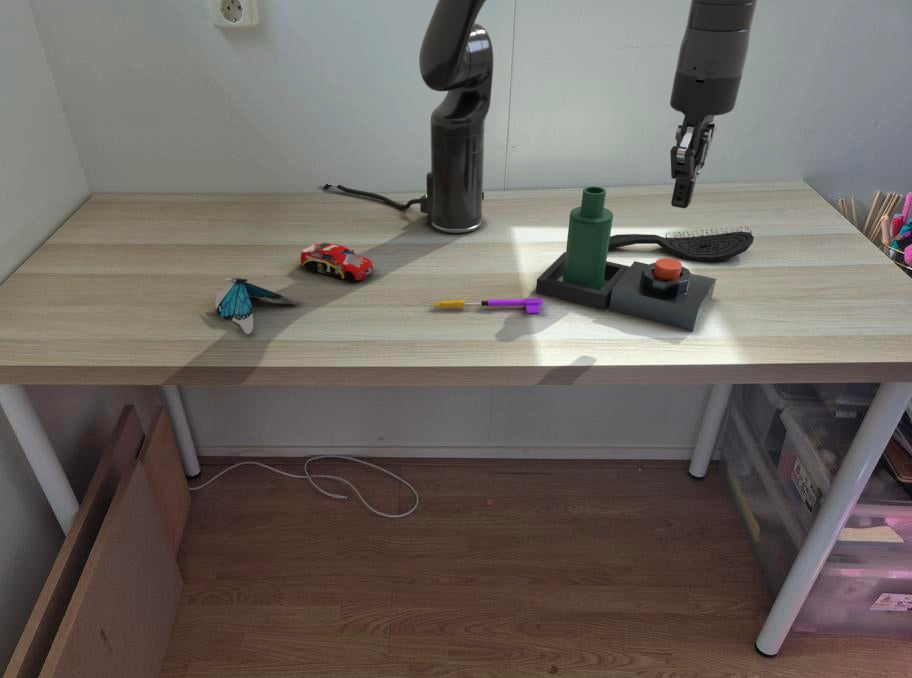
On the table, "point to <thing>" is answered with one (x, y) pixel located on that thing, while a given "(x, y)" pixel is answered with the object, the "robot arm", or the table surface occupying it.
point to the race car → (336, 261)
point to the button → (667, 268)
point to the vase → (588, 240)
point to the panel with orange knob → (662, 296)
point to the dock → (576, 293)
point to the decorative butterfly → (242, 302)
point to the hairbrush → (693, 244)
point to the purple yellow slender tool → (499, 303)
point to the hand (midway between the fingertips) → (680, 205)
